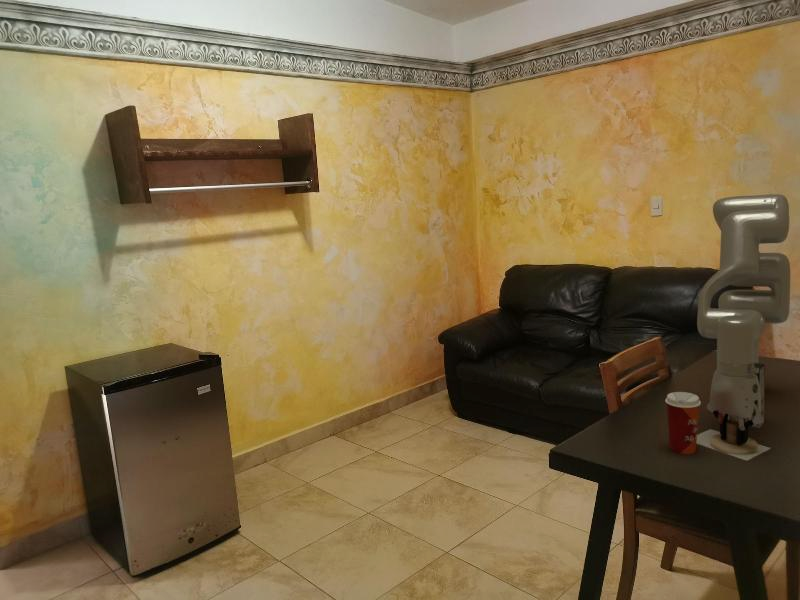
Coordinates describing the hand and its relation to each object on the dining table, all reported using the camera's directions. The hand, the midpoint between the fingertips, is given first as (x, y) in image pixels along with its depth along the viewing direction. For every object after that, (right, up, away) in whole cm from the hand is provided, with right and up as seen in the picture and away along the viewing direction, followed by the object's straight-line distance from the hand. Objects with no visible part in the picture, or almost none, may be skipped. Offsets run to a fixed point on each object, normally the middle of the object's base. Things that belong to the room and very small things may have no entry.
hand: (733, 440), depth 140 cm
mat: (-1, -2, +2) cm, 3 cm away
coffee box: (+10, +1, +14) cm, 18 cm away
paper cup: (-12, -3, +1) cm, 12 cm away
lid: (0, -1, 0) cm, 1 cm away
